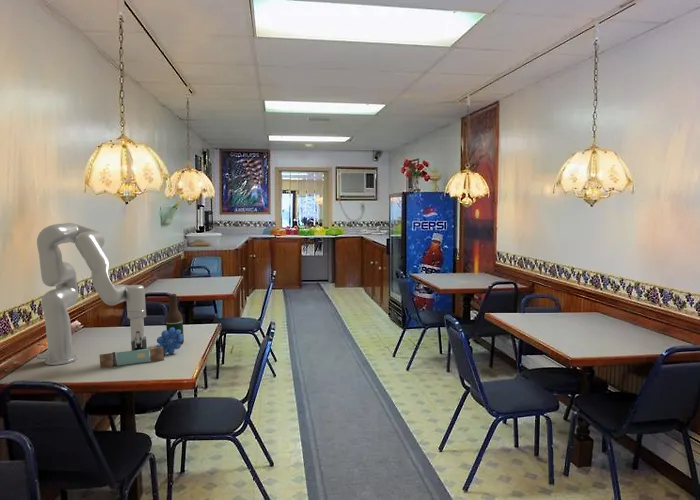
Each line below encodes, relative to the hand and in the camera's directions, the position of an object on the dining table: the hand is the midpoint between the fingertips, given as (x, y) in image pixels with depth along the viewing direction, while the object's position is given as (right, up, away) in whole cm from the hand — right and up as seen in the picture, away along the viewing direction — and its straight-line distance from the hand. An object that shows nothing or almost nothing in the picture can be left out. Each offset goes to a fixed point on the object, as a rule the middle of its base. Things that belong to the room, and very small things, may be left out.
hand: (139, 354), depth 236 cm
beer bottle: (+9, 0, +23) cm, 24 cm away
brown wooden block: (0, -3, -6) cm, 7 cm away
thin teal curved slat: (0, -2, -6) cm, 7 cm away
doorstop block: (0, -2, 0) cm, 2 cm away
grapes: (+11, -1, +7) cm, 13 cm away
